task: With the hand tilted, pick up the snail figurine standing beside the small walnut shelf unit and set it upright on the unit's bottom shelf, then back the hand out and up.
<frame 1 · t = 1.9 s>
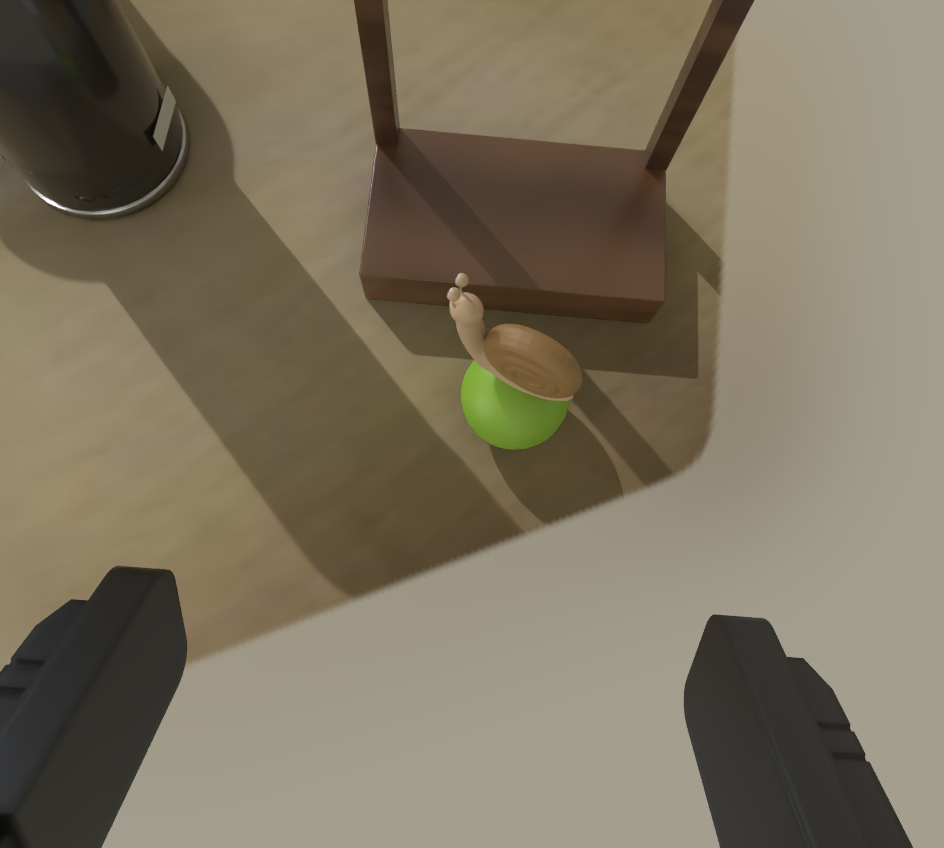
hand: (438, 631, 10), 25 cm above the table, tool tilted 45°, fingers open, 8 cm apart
snail figurine: (501, 406, 37), on the table
shelf unit: (512, 239, 39), on the table
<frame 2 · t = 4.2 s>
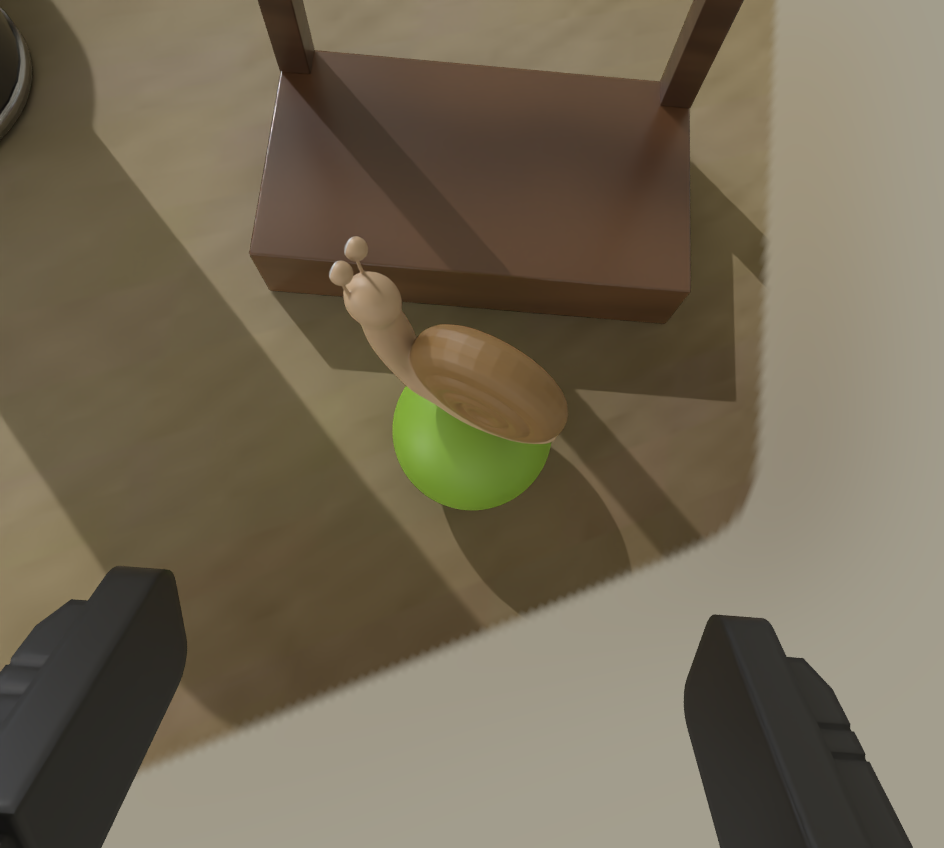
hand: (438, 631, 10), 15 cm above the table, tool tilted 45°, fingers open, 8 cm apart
snail figurine: (457, 442, 26), on the table
shelf unit: (476, 208, 29), on the table
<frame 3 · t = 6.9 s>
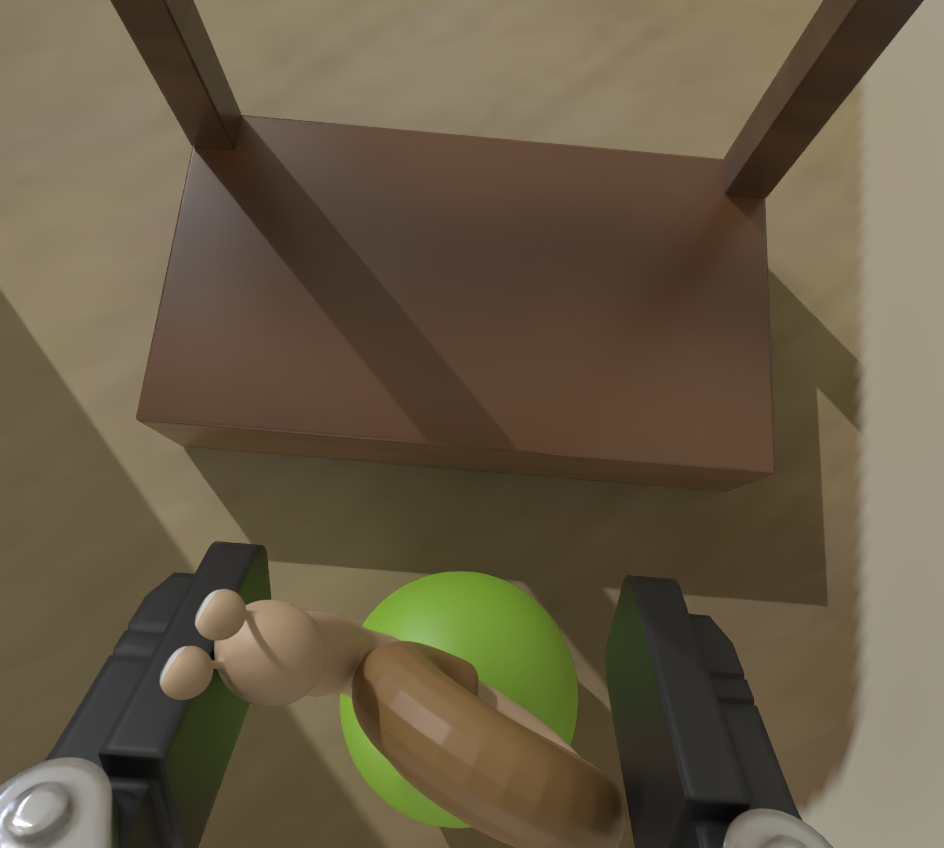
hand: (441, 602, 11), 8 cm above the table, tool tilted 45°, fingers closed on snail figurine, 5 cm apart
snail figurine: (439, 669, 19), on the table, touching gripper
shelf unit: (468, 325, 21), on the table
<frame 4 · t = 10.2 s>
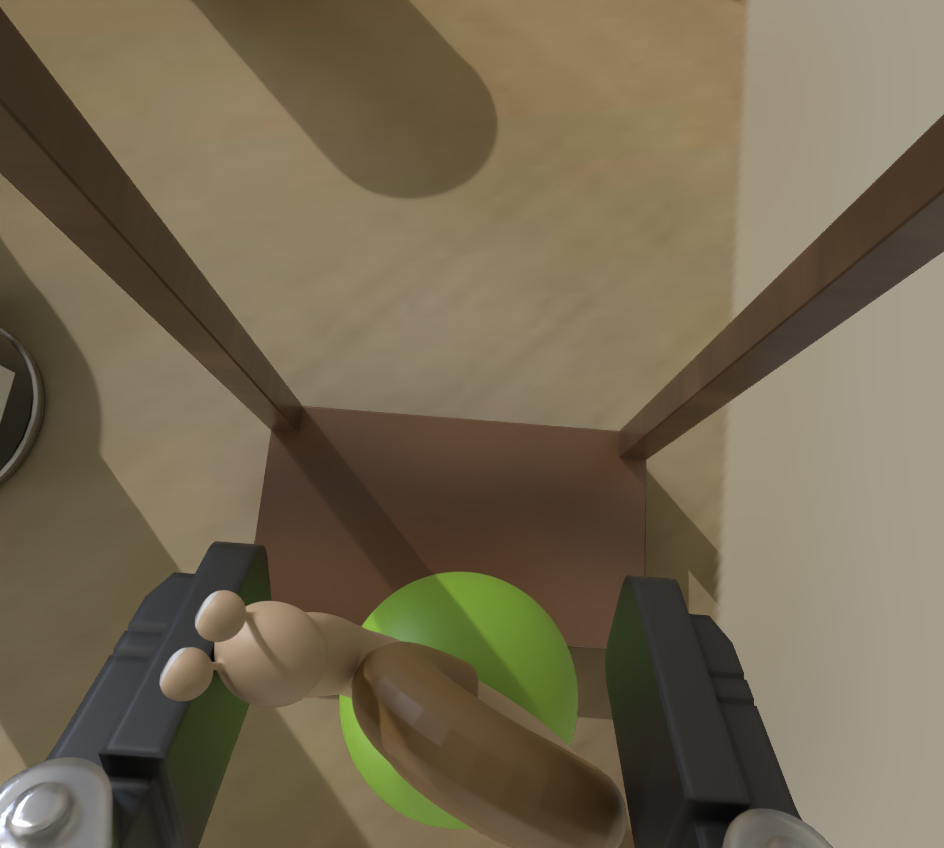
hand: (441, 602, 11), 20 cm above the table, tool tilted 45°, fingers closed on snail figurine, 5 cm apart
snail figurine: (439, 669, 19), point 12 cm above the table, touching gripper
shelf unit: (452, 530, 31), on the table
when the fingers open (11 cm above the table, at t = 13.9 s): snail figurine stays where it is, resting on shelf unit.
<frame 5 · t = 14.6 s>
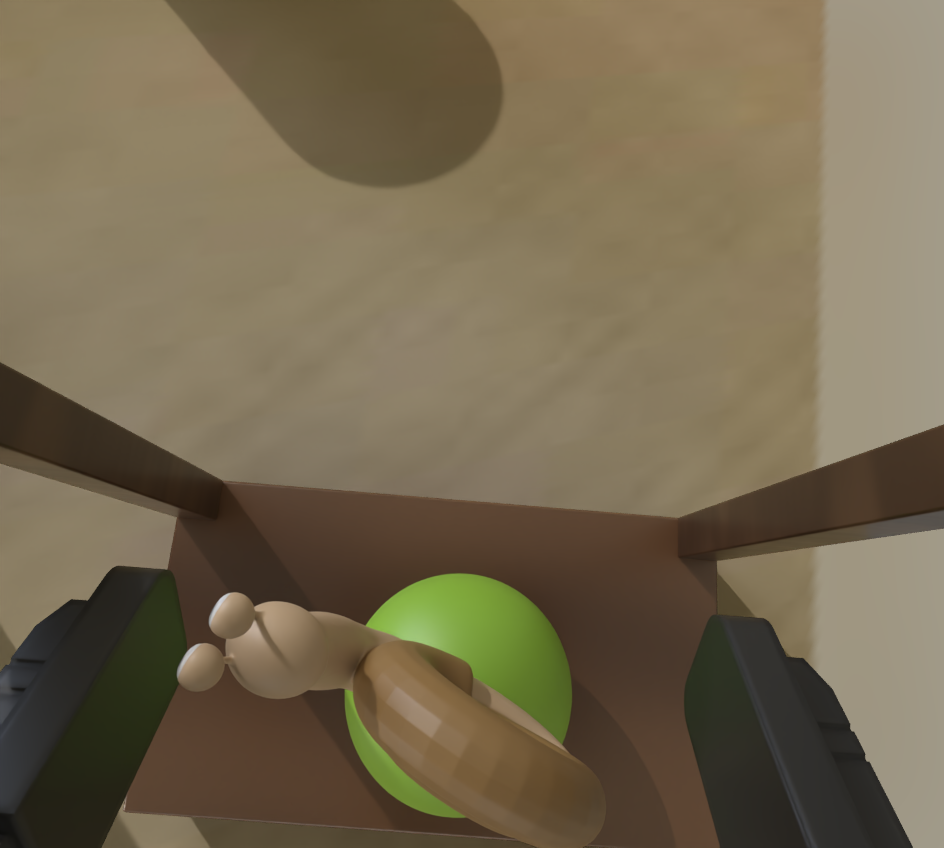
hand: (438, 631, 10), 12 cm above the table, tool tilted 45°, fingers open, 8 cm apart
snail figurine: (441, 666, 19), point 3 cm above the table, touching shelf unit
shelf unit: (439, 649, 22), on the table
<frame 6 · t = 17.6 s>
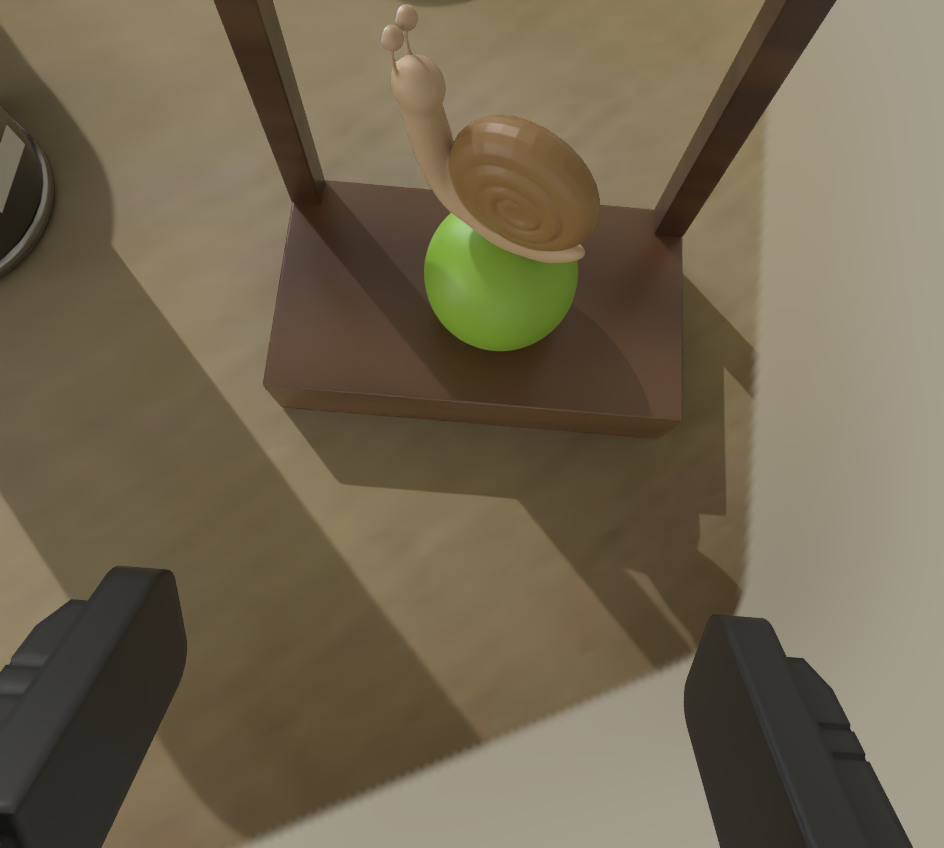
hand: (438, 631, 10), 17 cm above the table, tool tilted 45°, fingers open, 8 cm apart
snail figurine: (484, 302, 27), point 3 cm above the table, touching shelf unit
shelf unit: (478, 324, 30), on the table
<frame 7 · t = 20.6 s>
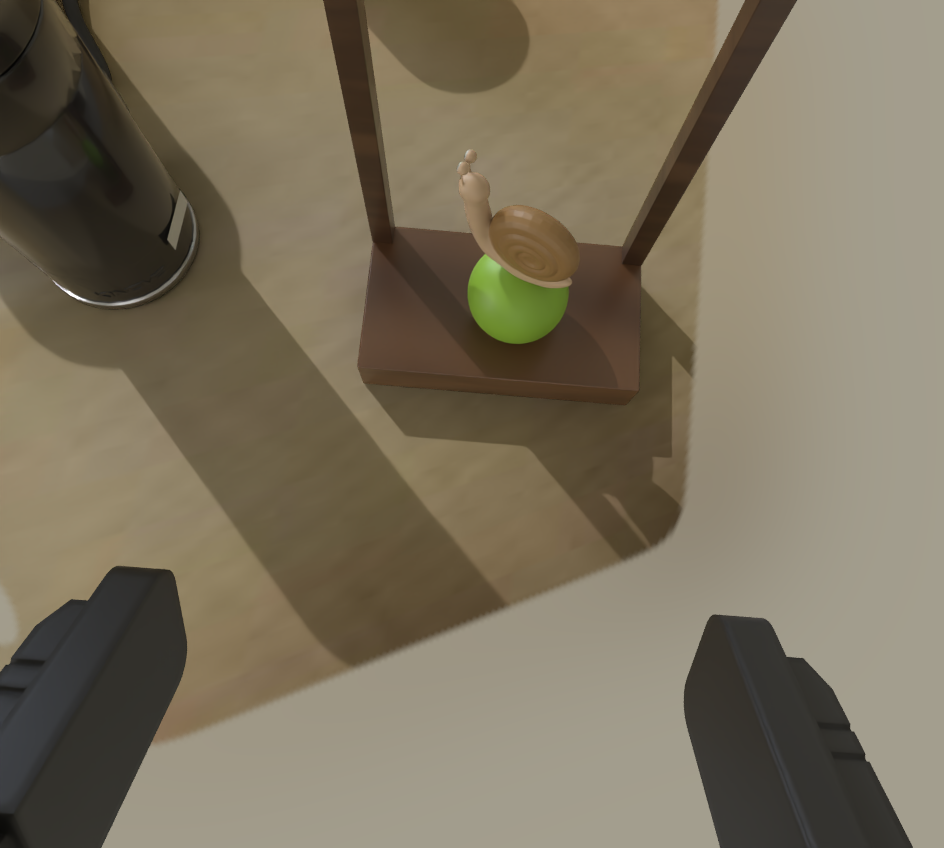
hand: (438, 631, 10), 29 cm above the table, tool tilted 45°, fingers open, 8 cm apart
snail figurine: (505, 311, 40), point 3 cm above the table, touching shelf unit
shelf unit: (499, 325, 42), on the table
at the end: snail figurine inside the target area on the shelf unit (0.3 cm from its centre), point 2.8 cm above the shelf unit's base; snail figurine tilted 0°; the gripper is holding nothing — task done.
